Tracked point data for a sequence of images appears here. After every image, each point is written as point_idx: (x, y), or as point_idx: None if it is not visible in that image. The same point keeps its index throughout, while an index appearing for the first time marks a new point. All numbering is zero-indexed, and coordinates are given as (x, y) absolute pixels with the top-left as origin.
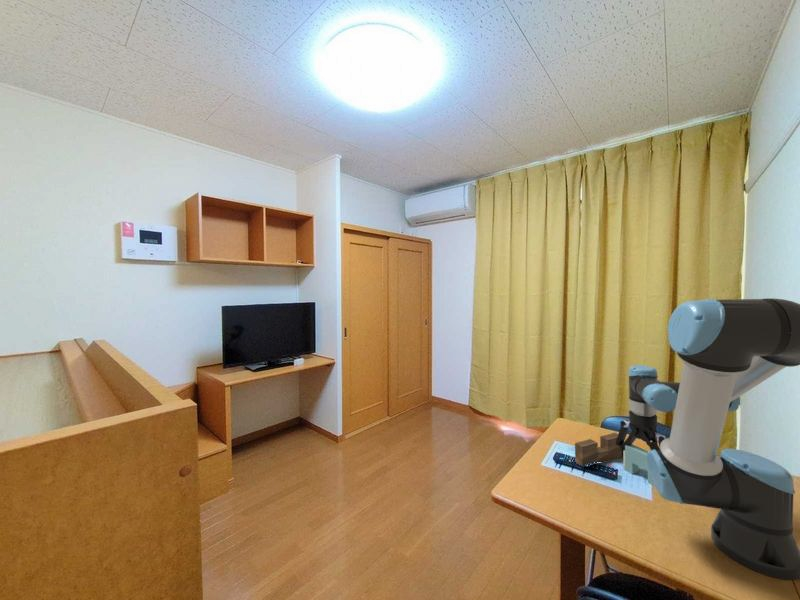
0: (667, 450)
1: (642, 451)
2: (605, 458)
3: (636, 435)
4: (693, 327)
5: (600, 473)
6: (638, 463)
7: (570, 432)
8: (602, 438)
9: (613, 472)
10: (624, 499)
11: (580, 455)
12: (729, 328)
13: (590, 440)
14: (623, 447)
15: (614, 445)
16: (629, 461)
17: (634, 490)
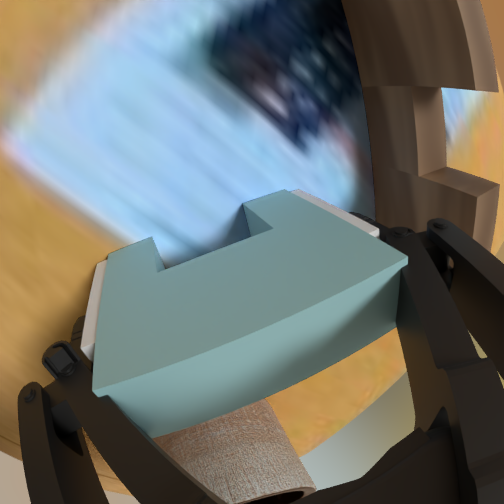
0: None
1: (274, 358)
2: (383, 147)
3: (439, 460)
4: None
5: (281, 22)
6: (233, 255)
7: (499, 180)
8: (487, 185)
9: (278, 102)
10: (30, 3)
11: None
12: None
13: (490, 73)
14: (399, 242)
15: None
16: (294, 220)
17: (82, 99)
